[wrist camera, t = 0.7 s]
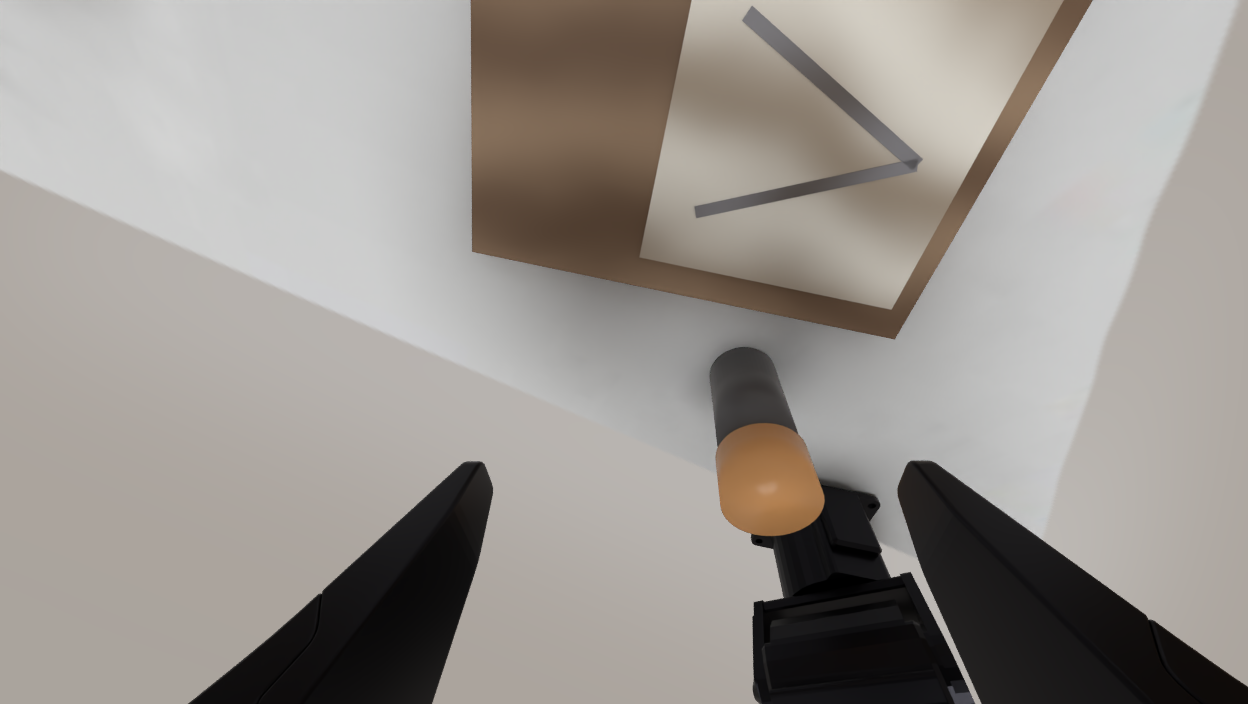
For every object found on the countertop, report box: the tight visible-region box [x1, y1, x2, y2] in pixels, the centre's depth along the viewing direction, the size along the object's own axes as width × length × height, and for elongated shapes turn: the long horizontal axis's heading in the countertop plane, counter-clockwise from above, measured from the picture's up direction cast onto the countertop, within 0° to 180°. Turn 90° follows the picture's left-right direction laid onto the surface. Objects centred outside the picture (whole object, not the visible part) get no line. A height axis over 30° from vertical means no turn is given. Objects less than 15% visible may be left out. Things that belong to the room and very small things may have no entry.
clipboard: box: [471, 0, 1093, 339], centre depth 17 cm, size 17×21×2 cm
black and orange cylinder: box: [710, 347, 825, 536], centre depth 21 cm, size 4×4×9 cm
